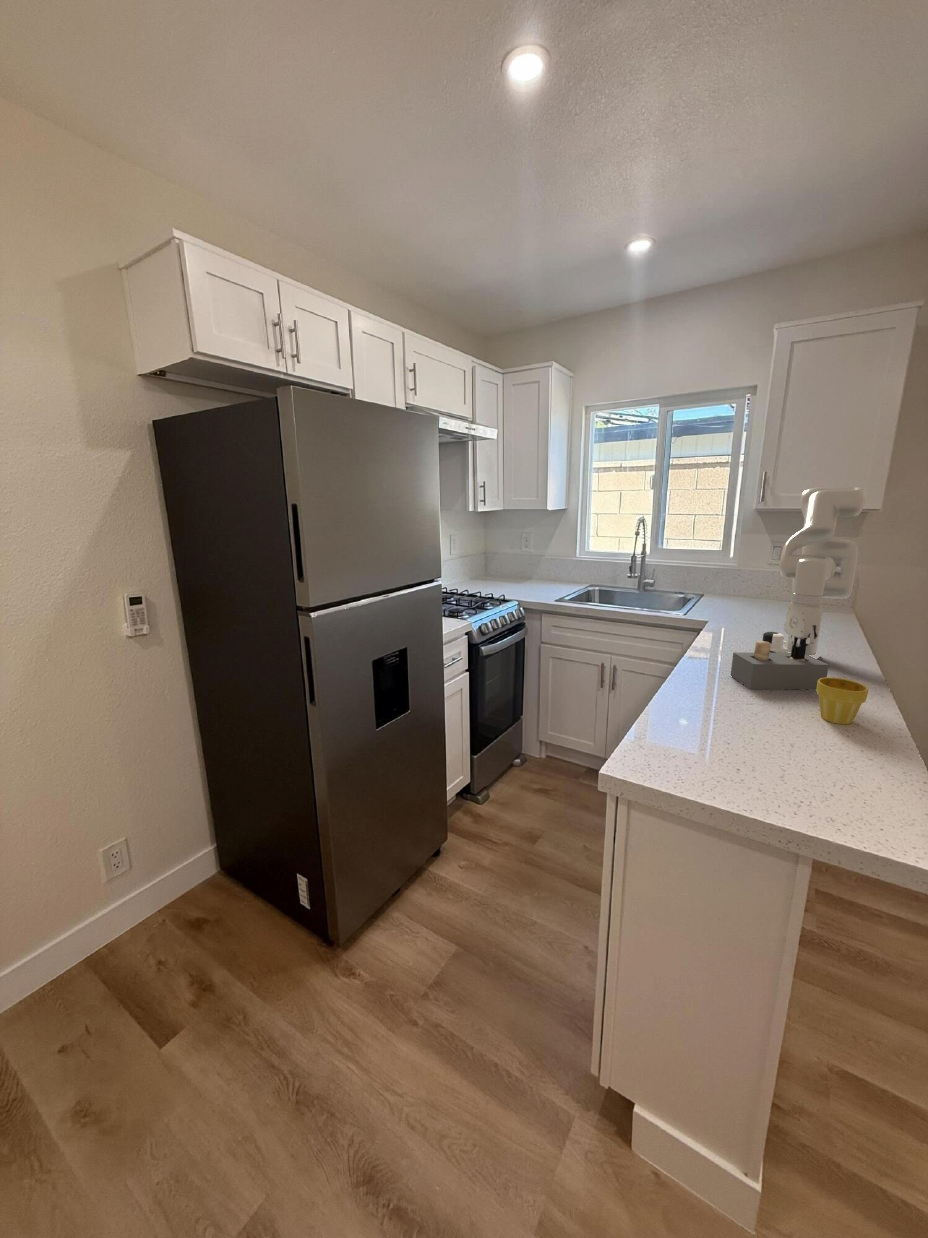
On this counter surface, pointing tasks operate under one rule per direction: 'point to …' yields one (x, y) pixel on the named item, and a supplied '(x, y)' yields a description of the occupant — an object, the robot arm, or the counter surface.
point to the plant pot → (840, 699)
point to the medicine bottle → (775, 642)
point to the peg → (762, 650)
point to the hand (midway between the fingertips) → (797, 658)
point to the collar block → (777, 671)
